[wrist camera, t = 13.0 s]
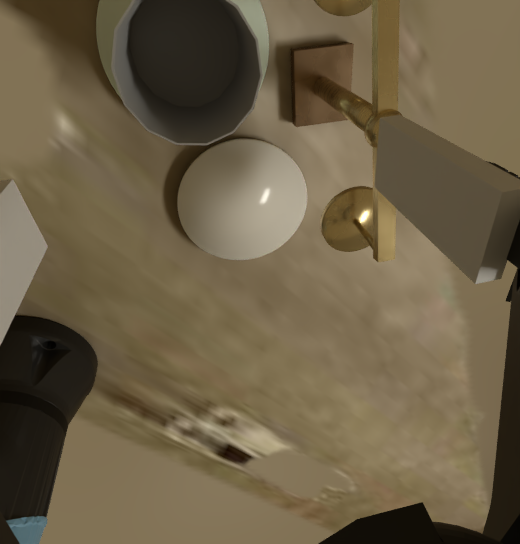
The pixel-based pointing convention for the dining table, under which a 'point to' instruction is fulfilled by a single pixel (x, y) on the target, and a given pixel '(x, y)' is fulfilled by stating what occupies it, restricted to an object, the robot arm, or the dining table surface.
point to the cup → (187, 68)
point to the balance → (352, 120)
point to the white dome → (241, 199)
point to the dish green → (116, 4)
